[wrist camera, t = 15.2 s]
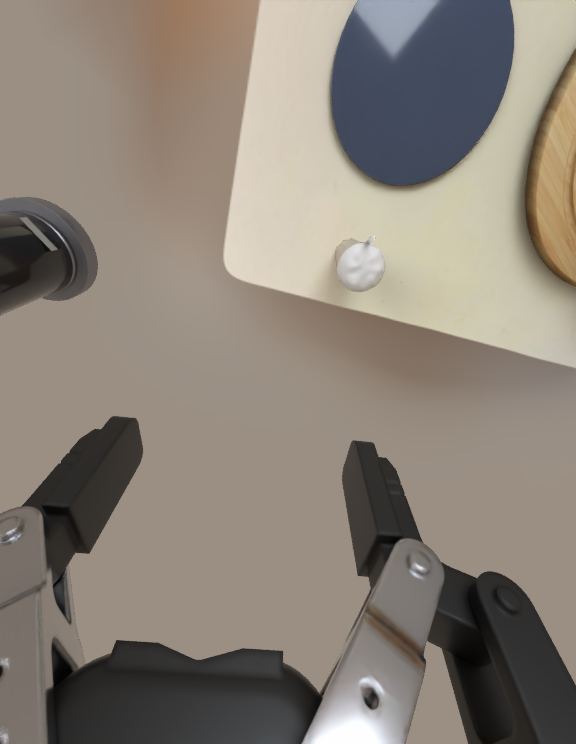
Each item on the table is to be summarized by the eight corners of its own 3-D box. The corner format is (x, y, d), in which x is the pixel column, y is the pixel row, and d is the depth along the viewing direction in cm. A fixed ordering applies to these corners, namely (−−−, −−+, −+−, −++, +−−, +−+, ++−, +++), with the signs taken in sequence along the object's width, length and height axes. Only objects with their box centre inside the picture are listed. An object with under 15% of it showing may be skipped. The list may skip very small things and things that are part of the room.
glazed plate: (317, 174, 32) (318, 174, 31) (352, -70, 23) (353, -75, 23) (463, 195, 32) (466, 195, 32) (548, -35, 24) (553, -41, 23)
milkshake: (373, 227, 34) (399, 239, 26) (362, 274, 37) (382, 300, 28) (334, 222, 34) (347, 233, 25) (326, 270, 37) (335, 295, 28)
